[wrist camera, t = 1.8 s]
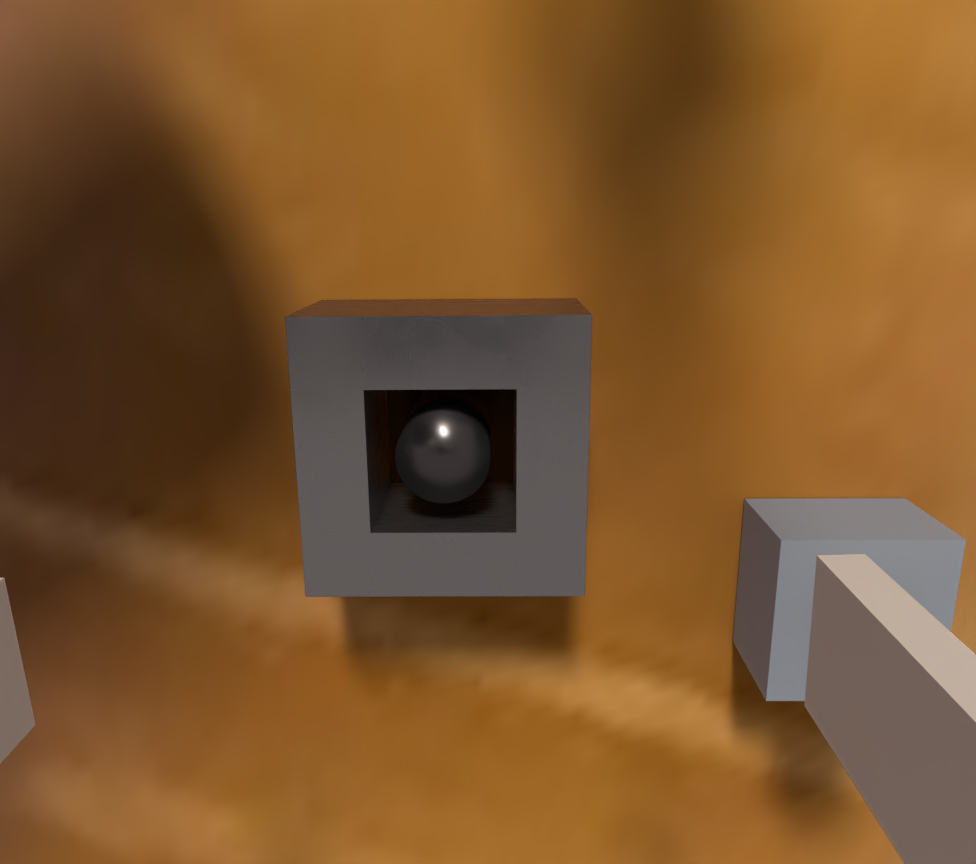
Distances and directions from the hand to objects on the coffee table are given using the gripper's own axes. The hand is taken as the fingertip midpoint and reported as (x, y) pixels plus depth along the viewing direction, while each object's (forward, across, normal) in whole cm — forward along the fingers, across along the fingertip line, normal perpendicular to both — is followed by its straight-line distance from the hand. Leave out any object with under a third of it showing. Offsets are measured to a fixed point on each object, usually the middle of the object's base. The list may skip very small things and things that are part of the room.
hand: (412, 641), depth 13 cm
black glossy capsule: (+17, 0, -1) cm, 17 cm away
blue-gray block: (+16, +14, -7) cm, 22 cm away
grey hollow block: (+17, 0, -1) cm, 17 cm away
